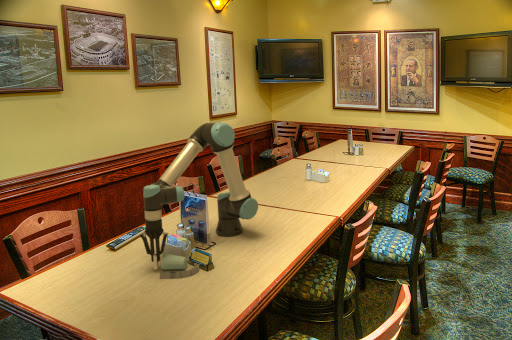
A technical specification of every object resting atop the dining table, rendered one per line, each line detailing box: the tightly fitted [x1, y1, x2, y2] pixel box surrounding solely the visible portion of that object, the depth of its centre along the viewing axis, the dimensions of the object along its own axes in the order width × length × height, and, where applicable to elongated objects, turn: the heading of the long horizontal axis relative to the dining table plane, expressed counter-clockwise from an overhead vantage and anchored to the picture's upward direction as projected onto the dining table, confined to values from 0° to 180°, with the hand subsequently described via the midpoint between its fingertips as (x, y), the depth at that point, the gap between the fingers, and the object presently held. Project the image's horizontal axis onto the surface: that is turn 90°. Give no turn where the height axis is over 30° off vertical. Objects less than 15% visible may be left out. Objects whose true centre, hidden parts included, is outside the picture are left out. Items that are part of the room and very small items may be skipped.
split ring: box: [159, 258, 200, 280], centre depth 206 cm, size 16×18×2 cm
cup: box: [160, 252, 188, 271], centre depth 207 cm, size 8×8×10 cm
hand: (156, 268), depth 206 cm, fingers closed
